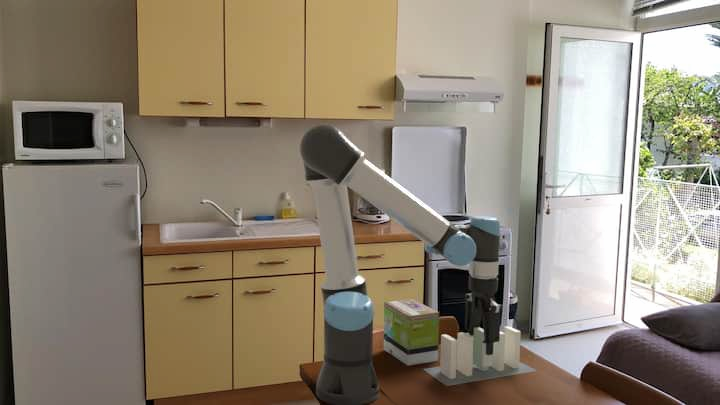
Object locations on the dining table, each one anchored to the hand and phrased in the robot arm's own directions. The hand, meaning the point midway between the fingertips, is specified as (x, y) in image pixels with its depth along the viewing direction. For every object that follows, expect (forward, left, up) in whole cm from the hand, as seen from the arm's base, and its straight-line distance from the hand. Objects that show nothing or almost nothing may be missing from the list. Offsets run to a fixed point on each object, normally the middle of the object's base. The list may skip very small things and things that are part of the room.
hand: (480, 361), depth 158 cm
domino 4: (+10, 0, -2) cm, 10 cm away
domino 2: (-5, 0, -2) cm, 5 cm away
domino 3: (+5, 0, -2) cm, 5 cm away
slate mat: (0, 0, -3) cm, 3 cm away
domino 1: (-10, 0, -2) cm, 10 cm away
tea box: (-12, +17, -3) cm, 21 cm away
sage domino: (0, 0, -1) cm, 1 cm away
